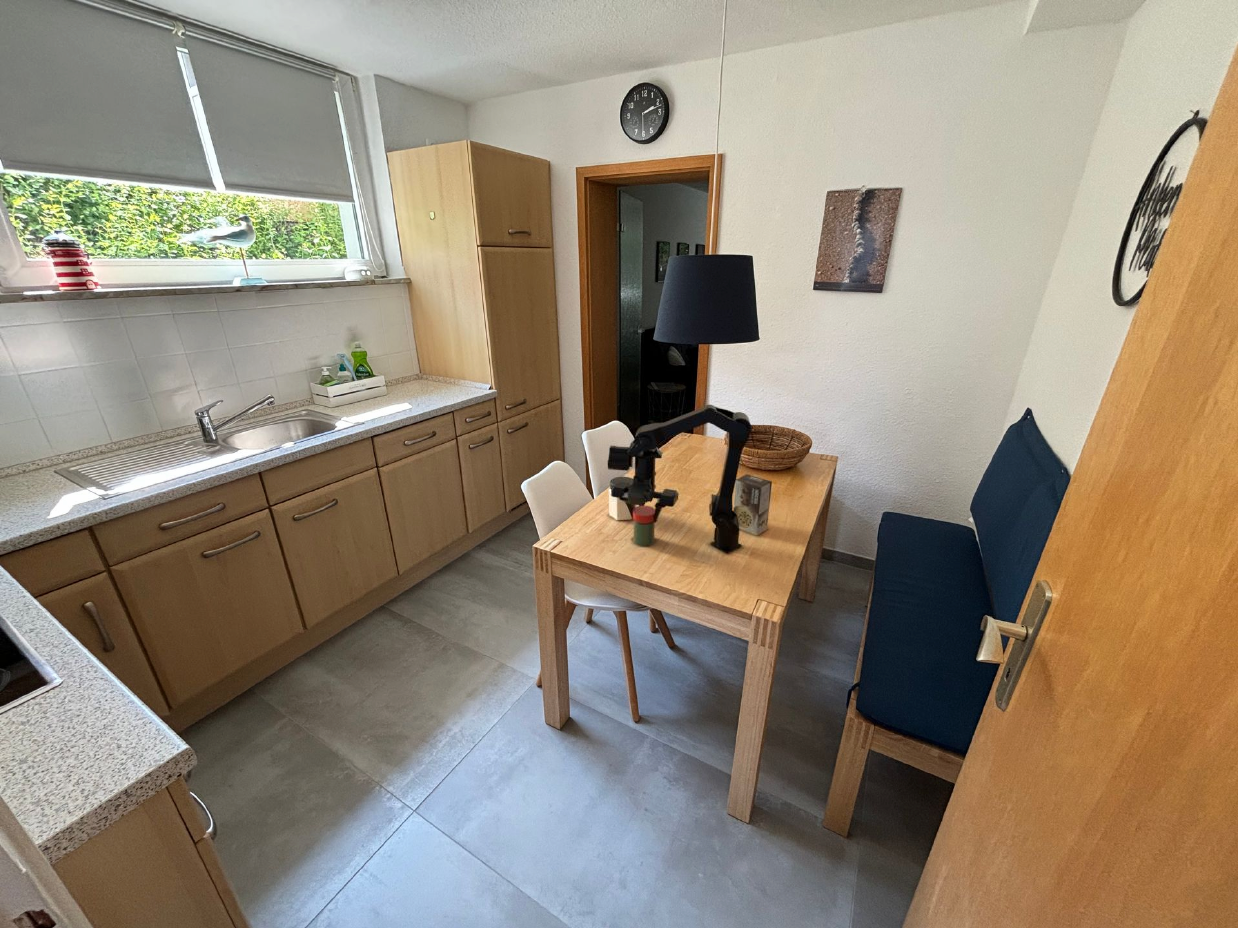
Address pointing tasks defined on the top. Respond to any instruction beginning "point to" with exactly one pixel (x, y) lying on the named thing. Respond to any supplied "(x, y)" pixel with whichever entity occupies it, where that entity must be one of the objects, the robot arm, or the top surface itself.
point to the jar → (619, 501)
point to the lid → (643, 514)
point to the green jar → (644, 533)
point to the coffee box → (752, 503)
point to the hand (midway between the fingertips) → (644, 519)
